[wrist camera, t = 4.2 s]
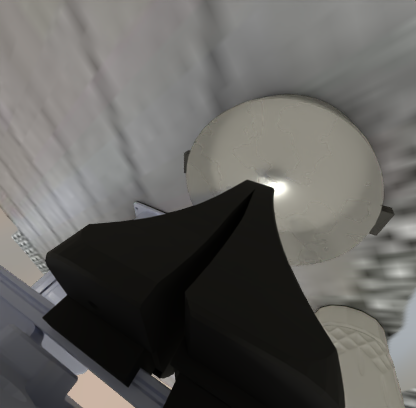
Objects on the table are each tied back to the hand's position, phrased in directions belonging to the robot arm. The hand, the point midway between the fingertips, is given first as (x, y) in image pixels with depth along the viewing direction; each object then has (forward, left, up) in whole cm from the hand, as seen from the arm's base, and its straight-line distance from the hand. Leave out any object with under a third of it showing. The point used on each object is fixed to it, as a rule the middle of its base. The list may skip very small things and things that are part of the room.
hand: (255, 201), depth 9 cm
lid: (-3, 0, -6) cm, 7 cm away
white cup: (-19, -13, -9) cm, 25 cm away
